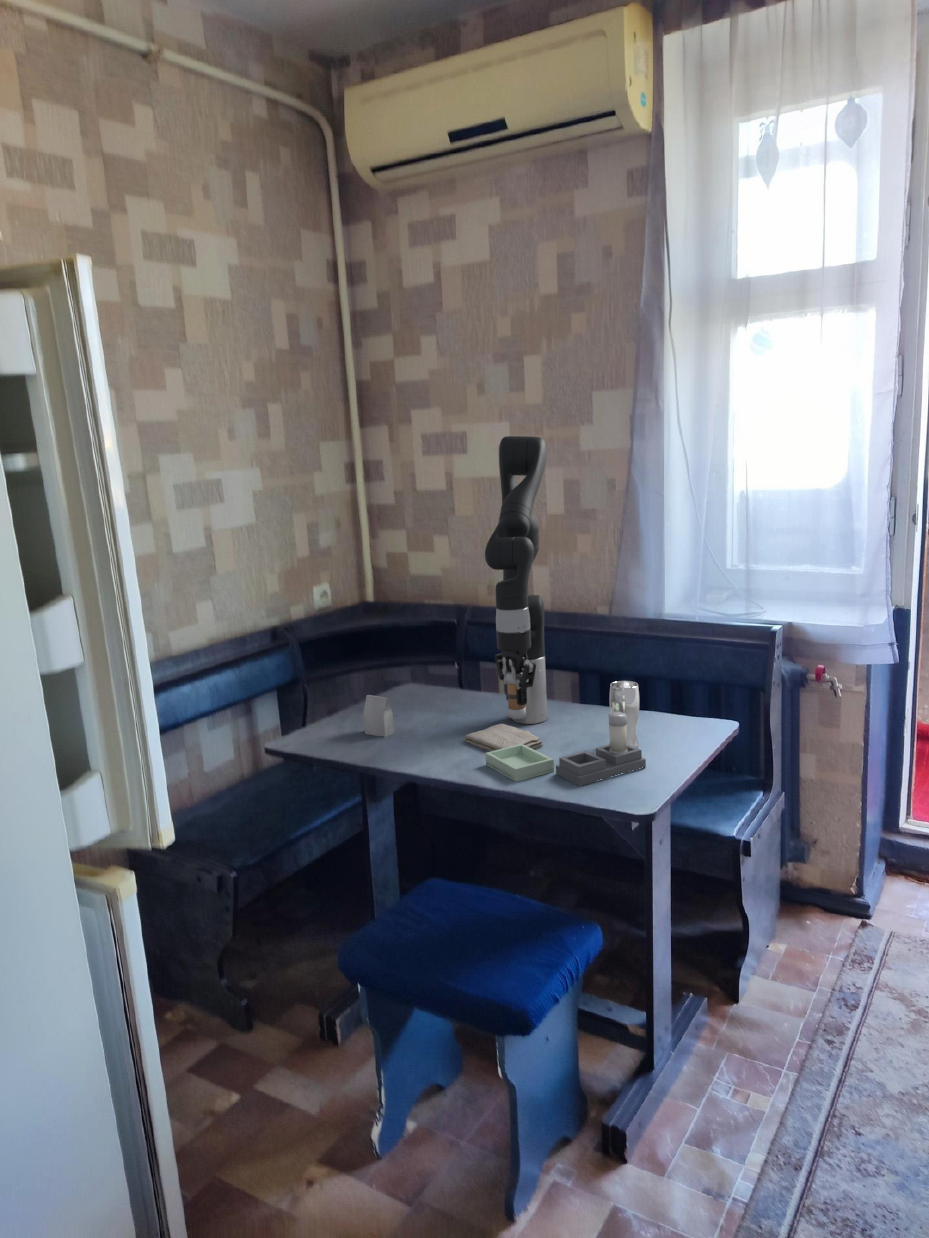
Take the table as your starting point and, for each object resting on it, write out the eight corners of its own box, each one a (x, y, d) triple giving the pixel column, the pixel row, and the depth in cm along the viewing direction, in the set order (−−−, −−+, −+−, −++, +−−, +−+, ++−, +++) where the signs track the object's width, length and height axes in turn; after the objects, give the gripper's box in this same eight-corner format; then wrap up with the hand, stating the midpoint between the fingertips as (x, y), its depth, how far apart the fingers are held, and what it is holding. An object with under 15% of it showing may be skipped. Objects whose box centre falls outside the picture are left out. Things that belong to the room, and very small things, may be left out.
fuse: (605, 756, 204) (604, 714, 202) (619, 753, 206) (619, 711, 204) (617, 761, 201) (616, 718, 199) (631, 757, 203) (630, 715, 201)
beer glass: (618, 751, 213) (616, 689, 210) (605, 742, 220) (604, 682, 217) (645, 747, 215) (644, 686, 212) (632, 738, 221) (631, 679, 218)
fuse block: (556, 773, 201) (555, 756, 200) (620, 756, 210) (619, 739, 209) (580, 786, 193) (579, 768, 193) (645, 767, 202) (645, 750, 201)
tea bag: (385, 737, 233) (382, 699, 231) (365, 733, 237) (362, 696, 235) (394, 732, 236) (391, 696, 234) (374, 729, 240) (371, 693, 238)
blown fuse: (505, 715, 204) (502, 672, 202) (519, 712, 206) (517, 669, 204) (514, 719, 201) (512, 676, 199) (529, 716, 203) (527, 673, 201)
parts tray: (486, 764, 209) (485, 752, 209) (522, 755, 214) (522, 743, 213) (516, 781, 198) (515, 769, 197) (554, 771, 203) (553, 759, 202)
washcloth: (509, 761, 212) (508, 748, 212) (462, 743, 226) (461, 731, 226) (546, 748, 219) (546, 736, 219) (498, 731, 233) (498, 720, 233)
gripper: (482, 625, 204) (486, 698, 207) (516, 635, 192) (519, 713, 195) (510, 620, 207) (514, 692, 211) (545, 629, 195) (548, 706, 199)
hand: (516, 702), depth 203 cm, fingers closed on blown fuse, 4 cm apart
